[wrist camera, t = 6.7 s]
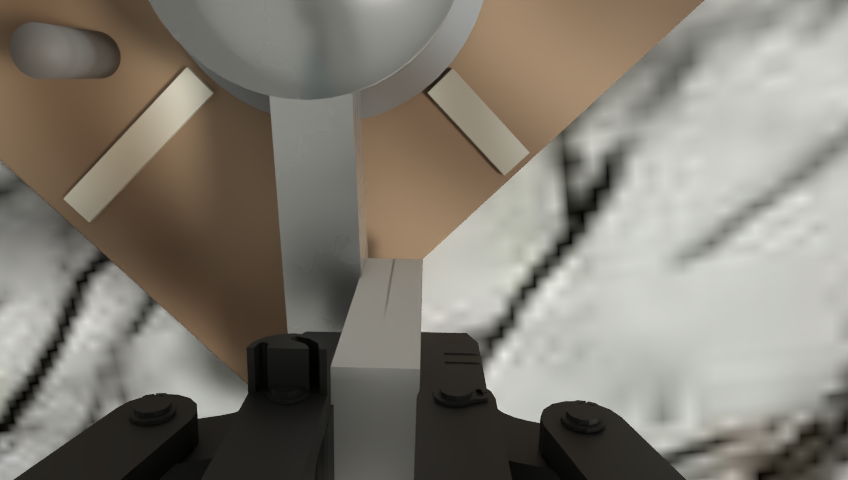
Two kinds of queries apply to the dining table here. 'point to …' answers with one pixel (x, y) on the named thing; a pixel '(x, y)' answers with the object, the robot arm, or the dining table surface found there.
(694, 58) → the dining table surface
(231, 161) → the post board
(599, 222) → the dining table surface
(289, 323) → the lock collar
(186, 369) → the dining table surface
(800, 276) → the dining table surface
